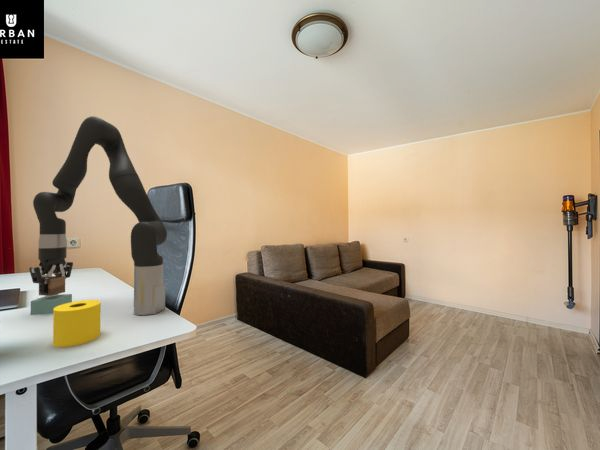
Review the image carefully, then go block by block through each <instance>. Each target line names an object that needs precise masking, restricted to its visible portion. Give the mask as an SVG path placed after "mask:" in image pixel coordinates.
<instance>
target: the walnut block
mask: <svg viewBox="0 0 600 450" xmlns="http://www.w3.org/2000/svg"><path fill="white" fill-rule="evenodd" d="M44 280H45V278H44ZM47 284H48V294H41V293H40V284H38V296H43V297H44V296H52V295H56V294H58V295H61V294H65V293H66V279H65V276H52V277H50V279H49V281H48V283H47Z"/></svg>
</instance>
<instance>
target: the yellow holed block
mask: <svg viewBox="0 0 600 450" xmlns="http://www.w3.org/2000/svg"><path fill="white" fill-rule="evenodd" d="M101 303H102V302H101V301H100V300H97V299H86V300H85V299H84V300H76V301H72V302H70V303H66V304H62V305H59V306H57V307H55V308H54V309H53V314H52V315H53V316H52V317H53V318H52V320H53V322H52V325H53V326H52V329H53V330H52V333H53V334H52V335H53V336H52V345H53V346H54V347H56V348H67V347H74V346H80V345H83V344H87V343H89V342H91V341H94V340H96V339H98V338H99V337H100V335H101V312H102V311H101V307H102V306H101V305H102V304H101Z"/></svg>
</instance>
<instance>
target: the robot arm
mask: <svg viewBox="0 0 600 450" xmlns="http://www.w3.org/2000/svg"><path fill="white" fill-rule="evenodd" d="M122 137H123V136H122V134H121V133H120V130H119V129H118V128H117V127H116V126H115V125H113V124H112V123H110V122H109V121H106V120H104V119H103V118H100V117H98V116H95V115H94V116H89V117H86V118H85V119H84V120H83V121H82V122H81V124H80V126H79V128H78V130H77V133H76V136H75V138H74V140H73V142H72V145H71V147H70V151H69V152H68V155H67V157H66V159H65V161H64V163H63V165H61V168H60V169H59V170H58V172H57V173H56V175H55V176H54V178H53V179H52V185H53V187H54V188H56V189H57V192H50V191H41V192H38V193H37V194H36V195H35V196H34V198H33V200H32V203H33V204H32V205H33V209H34V211H35V215H36V218H37V220H38V223H39V236H38V246H37V247H38V250H37V251H38V253H37V255H38V256H37V257H38V260H39V264H38V265H36V266H31V267H29V273H30V276H31V280H32V283H33V284H37V285H39V284H40V293H41V294H48V284H47V283H48V281H49V279H50V277H52V274H54V275H55V276H65V280H67V278H70V277H71V275H72V270H73V265H74V263H73V261H66V258H67V250H68V249H67V234H66V233H67V232H66V229H67V222H66V220H65V219H63V218H60V217H58V216H57V213H64V212H66V211H68V210H69V209H70V208H71V207H72V205H73V203H74V200H75V197H76V192H77V189H78V188H79V186H80V185H81V184H82V182H83V181H84V179H85V177H86V175H87V172H88V160H89V159H88V158H89V154H90V152H91V150H92V149H93V148H94V146H95V145H98V146H100V147H101V148H102V149H103V151H104V152H105V155H106V156H107V159H108V161H109V170H108V178H109V182H110V184H111V186H112V188H113V190H114V193H115V194H116V196H117V197H118V199H119V200H120V201H121V202H122V203H123V204H124V205H125V206H126V207H127V208H128V209H129V210H131V212H132V213H133V214H134V215H135V218H136V219H137V221H138V222H137V223H135V225H133V226H132V229H131V232H130V249H131V253H130V255H131V259H132V260H133V314H134V315H136V316H148V315H149V316H150V315H156V314H158V313H159V312H161V310H162V311H163V310H165V309H166V284H165V283H163V282H164V278H163V277H164V275H163V274H164V257H163V256H162V255H160V254H159V252H158V246H160V245H162V244H164V243H165V242H166V240H167V237H168V232H167V231H168V230H167V228H166V227H165V224H164V223H163V221H162V220H161V218H160V217H159V215H158V213H157V212H156V210H155V208H154V206H153V204H152V201H151V200H150V197H149V195H148V194H147V191H146V190H145V187H144V186H143V182H142V181H141V178H140V177H139V175H138V172H137V170H136V169H135V167H134V164H133V163H132V161H131V160H132V159H131V158H130V157H129V154H128V152H127V149H126V146H125V143H124V139H123V138H122ZM44 278H45V280H44ZM164 308H165V309H164Z"/></svg>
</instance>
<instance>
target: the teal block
mask: <svg viewBox="0 0 600 450" xmlns="http://www.w3.org/2000/svg"><path fill="white" fill-rule="evenodd" d="M70 302H73V294H72V293H67V294H65V293H60V294H58V295H52V296H44V295H43V296H40V297H39V298H36V299H33V300H31V301H30V315H36V316H37V315H51V314H52V315H53V309H54V308H55V307H57V306H59V305H62V304H66V303H70Z"/></svg>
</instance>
